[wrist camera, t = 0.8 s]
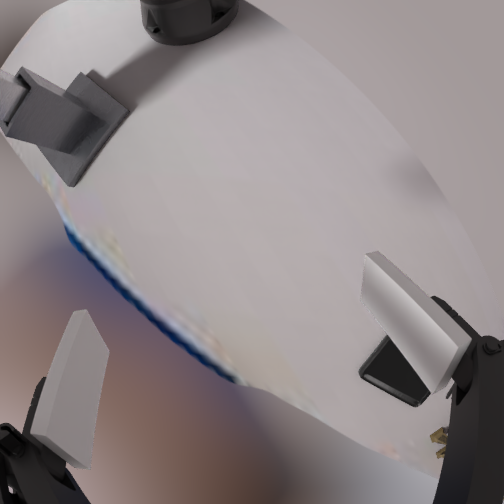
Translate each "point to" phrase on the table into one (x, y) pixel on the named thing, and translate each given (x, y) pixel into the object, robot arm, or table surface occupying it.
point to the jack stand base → (65, 122)
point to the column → (11, 94)
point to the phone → (394, 374)
